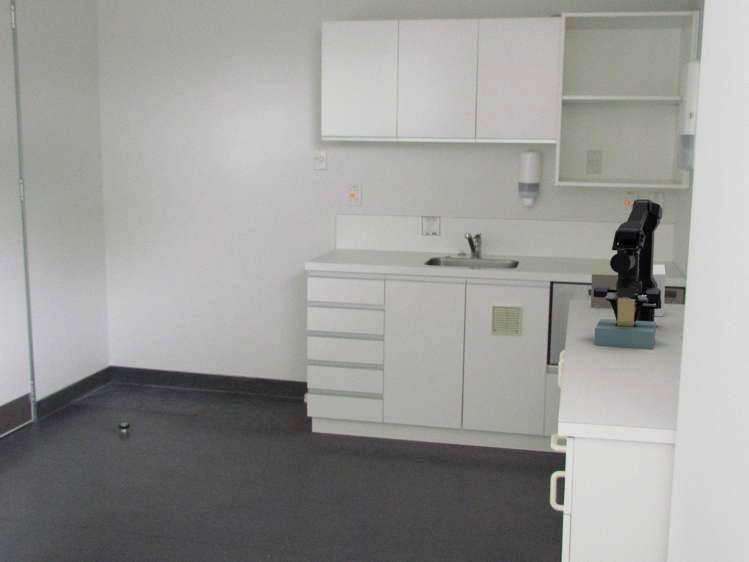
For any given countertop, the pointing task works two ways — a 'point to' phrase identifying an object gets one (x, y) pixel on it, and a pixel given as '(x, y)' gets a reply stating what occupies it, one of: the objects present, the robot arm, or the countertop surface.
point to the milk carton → (659, 284)
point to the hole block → (625, 334)
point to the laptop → (603, 281)
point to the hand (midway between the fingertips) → (626, 321)
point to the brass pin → (626, 312)
